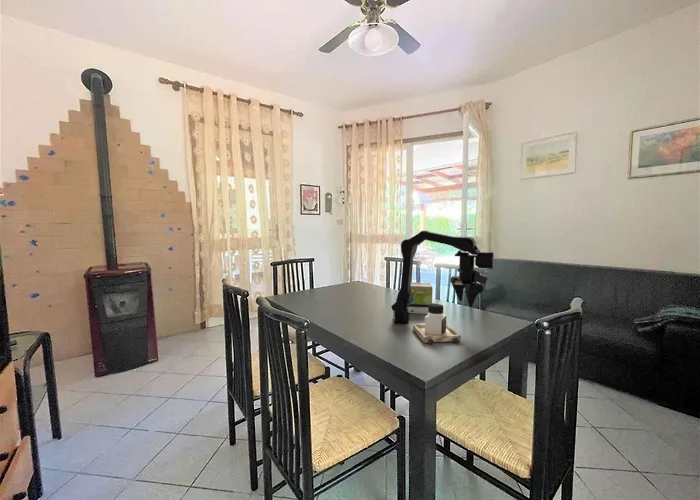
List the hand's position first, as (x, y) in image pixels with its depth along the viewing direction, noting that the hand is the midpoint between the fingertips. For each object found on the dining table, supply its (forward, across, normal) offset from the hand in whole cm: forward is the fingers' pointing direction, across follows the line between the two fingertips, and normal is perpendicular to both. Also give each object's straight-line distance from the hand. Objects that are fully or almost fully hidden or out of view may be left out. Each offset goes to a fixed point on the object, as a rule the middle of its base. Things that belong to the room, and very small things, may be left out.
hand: (465, 303), depth 128 cm
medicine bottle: (+12, -2, +13) cm, 18 cm away
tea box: (+13, +32, +11) cm, 37 cm away
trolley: (+13, -2, +13) cm, 19 cm away
